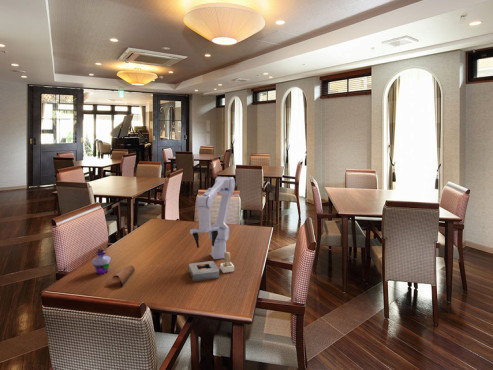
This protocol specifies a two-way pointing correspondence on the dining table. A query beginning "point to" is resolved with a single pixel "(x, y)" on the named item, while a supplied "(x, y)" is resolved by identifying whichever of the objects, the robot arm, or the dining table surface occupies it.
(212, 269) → the grey square frame block
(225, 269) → the holder
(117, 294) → the dining table surface
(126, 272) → the sunglasses case
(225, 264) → the tan cylinder
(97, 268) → the potion bottle
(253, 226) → the dining table surface
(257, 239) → the dining table surface
